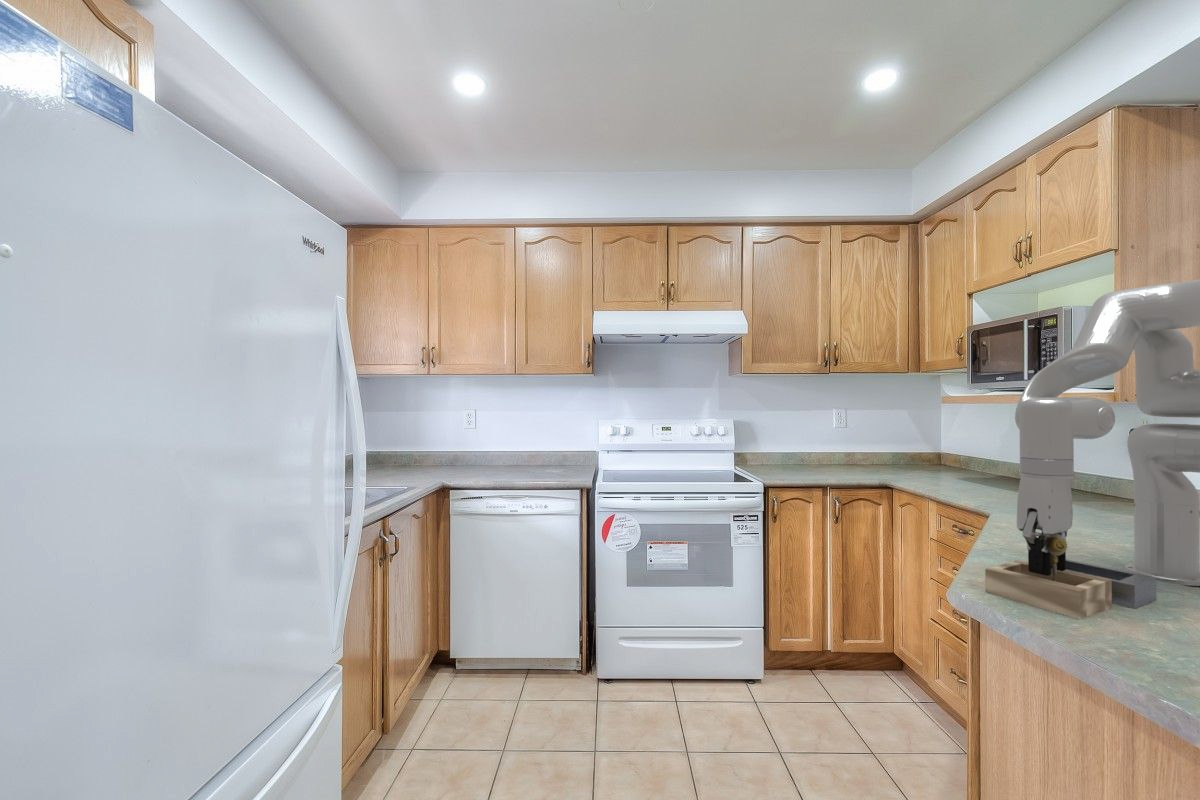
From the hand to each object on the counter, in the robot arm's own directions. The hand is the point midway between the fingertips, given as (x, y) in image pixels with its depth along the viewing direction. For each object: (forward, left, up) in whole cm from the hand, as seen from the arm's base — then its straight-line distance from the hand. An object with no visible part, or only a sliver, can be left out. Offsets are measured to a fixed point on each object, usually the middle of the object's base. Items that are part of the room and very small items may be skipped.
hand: (1047, 570), depth 100 cm
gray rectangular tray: (-14, +1, -6) cm, 15 cm away
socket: (0, 0, -6) cm, 6 cm away
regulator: (0, 0, -5) cm, 5 cm away
